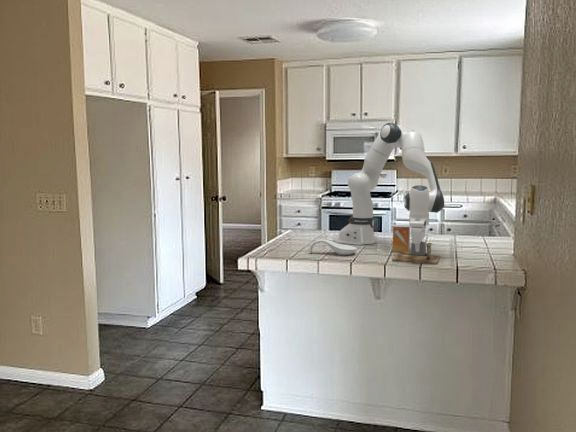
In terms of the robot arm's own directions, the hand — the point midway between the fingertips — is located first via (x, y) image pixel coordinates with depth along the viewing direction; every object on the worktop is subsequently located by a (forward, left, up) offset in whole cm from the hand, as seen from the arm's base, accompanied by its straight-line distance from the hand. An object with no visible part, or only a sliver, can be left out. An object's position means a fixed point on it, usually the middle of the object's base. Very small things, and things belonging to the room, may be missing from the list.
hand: (418, 250), depth 243 cm
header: (-1, 0, -4) cm, 5 cm away
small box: (-11, +19, -5) cm, 22 cm away
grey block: (0, 0, -2) cm, 2 cm away
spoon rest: (-42, +1, -5) cm, 42 cm away
